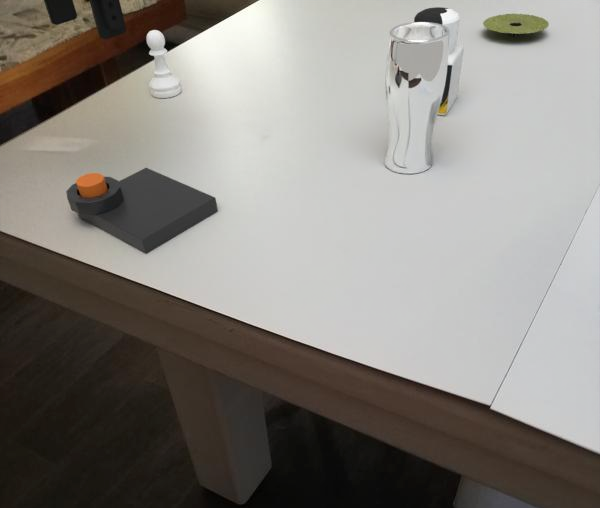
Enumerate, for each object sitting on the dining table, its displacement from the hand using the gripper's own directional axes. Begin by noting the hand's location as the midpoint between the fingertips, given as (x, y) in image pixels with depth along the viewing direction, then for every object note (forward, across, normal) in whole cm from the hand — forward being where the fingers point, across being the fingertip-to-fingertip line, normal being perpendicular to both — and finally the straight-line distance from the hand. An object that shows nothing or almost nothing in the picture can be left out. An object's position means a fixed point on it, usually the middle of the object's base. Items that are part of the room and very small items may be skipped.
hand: (88, 28), depth 66 cm
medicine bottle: (+17, +20, +40) cm, 48 cm away
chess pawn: (+17, -18, +20) cm, 32 cm away
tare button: (+14, +7, -9) cm, 18 cm away
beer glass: (+17, +28, +24) cm, 41 cm away
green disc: (+17, +15, +74) cm, 78 cm away
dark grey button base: (+17, +11, -5) cm, 21 cm away
